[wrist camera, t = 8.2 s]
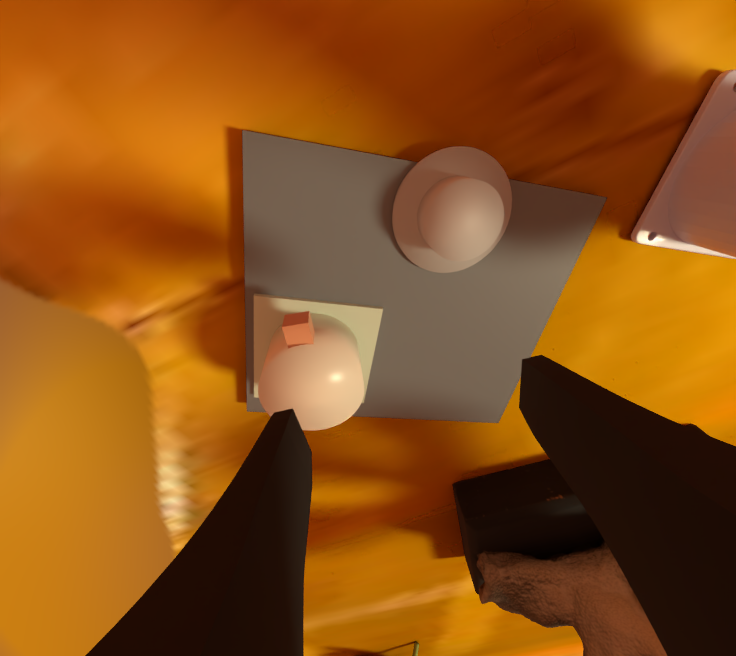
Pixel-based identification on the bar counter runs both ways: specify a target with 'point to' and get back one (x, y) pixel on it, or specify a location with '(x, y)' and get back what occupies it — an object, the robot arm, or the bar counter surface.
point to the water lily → (415, 649)
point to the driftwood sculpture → (549, 559)
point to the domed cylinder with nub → (312, 371)
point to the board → (408, 267)
